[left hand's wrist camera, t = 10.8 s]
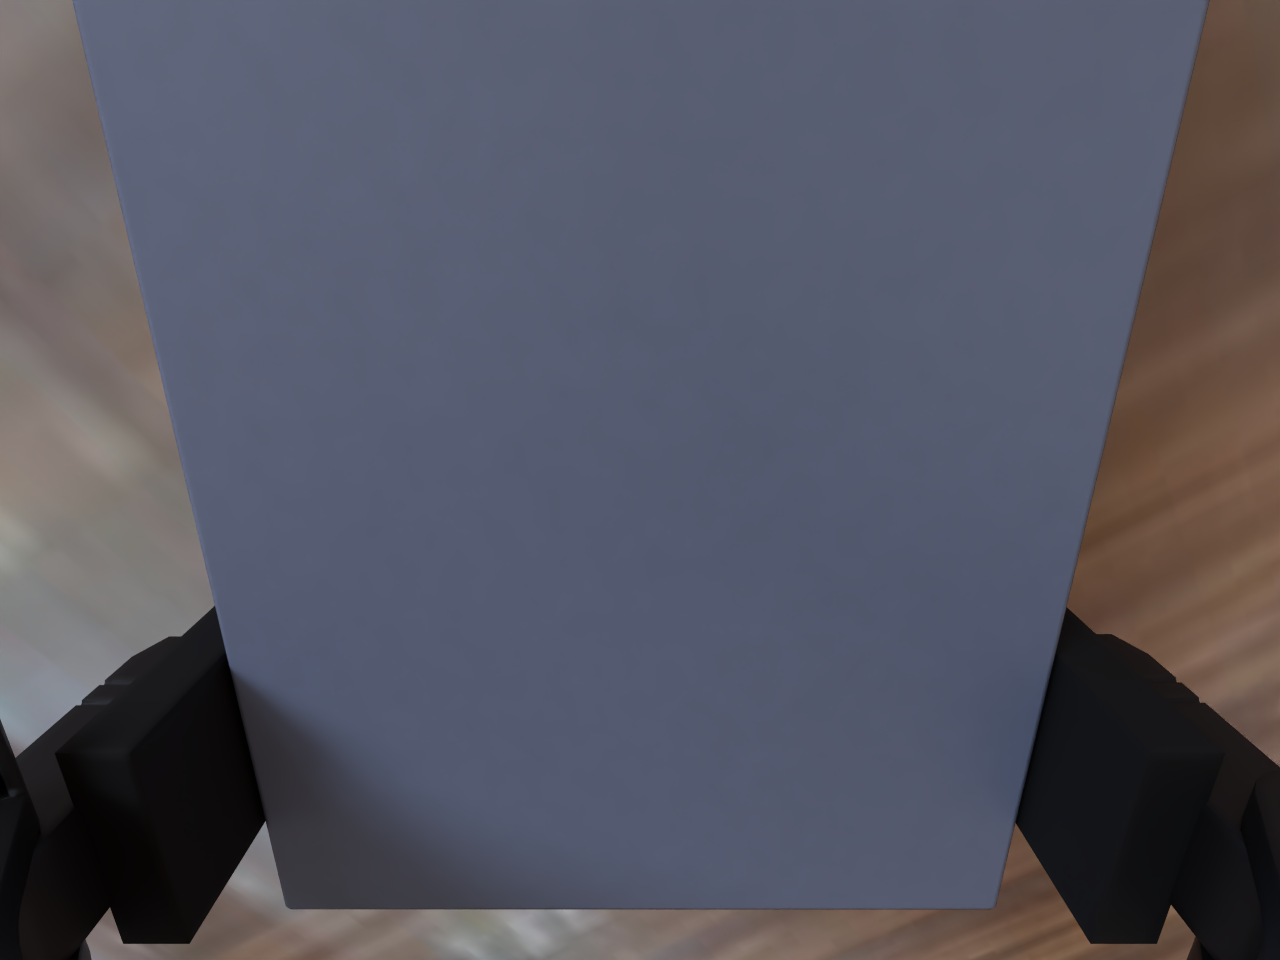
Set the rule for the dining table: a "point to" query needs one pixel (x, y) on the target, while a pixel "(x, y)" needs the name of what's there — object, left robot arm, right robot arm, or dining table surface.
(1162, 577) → the dining table surface
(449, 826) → the cabinet
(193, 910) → the left robot arm
